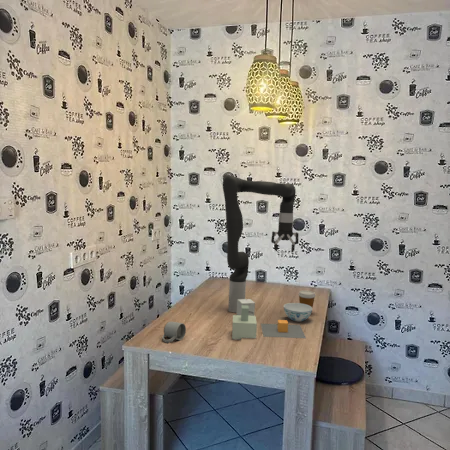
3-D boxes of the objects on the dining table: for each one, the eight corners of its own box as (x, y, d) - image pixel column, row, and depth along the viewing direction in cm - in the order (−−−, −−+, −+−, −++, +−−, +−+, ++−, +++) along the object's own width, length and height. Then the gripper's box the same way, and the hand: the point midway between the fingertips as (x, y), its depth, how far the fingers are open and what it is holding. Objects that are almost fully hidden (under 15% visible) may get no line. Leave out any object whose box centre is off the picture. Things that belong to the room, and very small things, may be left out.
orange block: (278, 332, 210) (278, 323, 209) (277, 328, 214) (277, 319, 214) (287, 332, 210) (288, 323, 209) (286, 329, 214) (286, 320, 214)
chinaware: (301, 315, 239) (302, 301, 239) (317, 324, 226) (318, 310, 225) (277, 317, 234) (278, 303, 233) (291, 327, 220) (292, 312, 219)
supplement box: (240, 327, 216) (241, 303, 215) (235, 322, 224) (236, 298, 222) (254, 326, 218) (255, 302, 217) (249, 321, 226) (250, 298, 224)
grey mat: (263, 338, 203) (263, 336, 203) (260, 325, 221) (260, 323, 221) (306, 340, 203) (306, 338, 203) (299, 326, 221) (299, 325, 221)
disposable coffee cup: (314, 316, 238) (315, 295, 237) (296, 315, 240) (298, 293, 239) (314, 311, 247) (315, 291, 246) (297, 309, 249) (298, 289, 248)
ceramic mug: (171, 333, 205) (171, 318, 204) (186, 337, 201) (186, 321, 200) (158, 341, 196) (158, 324, 195) (172, 345, 192) (173, 328, 191)
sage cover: (232, 339, 201) (233, 310, 199) (232, 330, 212) (233, 303, 210) (256, 340, 201) (257, 311, 199) (254, 331, 212) (256, 303, 210)
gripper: (273, 221, 226) (271, 252, 228) (300, 222, 226) (298, 253, 228) (271, 220, 234) (270, 249, 235) (298, 221, 233) (296, 250, 235)
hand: (284, 251), depth 232 cm, fingers open, 8 cm apart
